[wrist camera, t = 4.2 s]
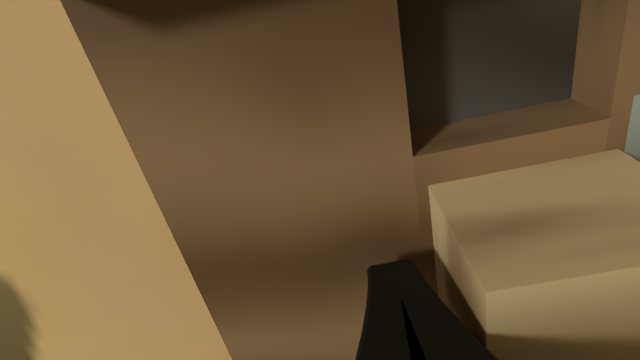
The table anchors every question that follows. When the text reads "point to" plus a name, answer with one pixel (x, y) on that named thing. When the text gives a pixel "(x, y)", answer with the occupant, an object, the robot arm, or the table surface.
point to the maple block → (544, 257)
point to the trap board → (344, 133)
